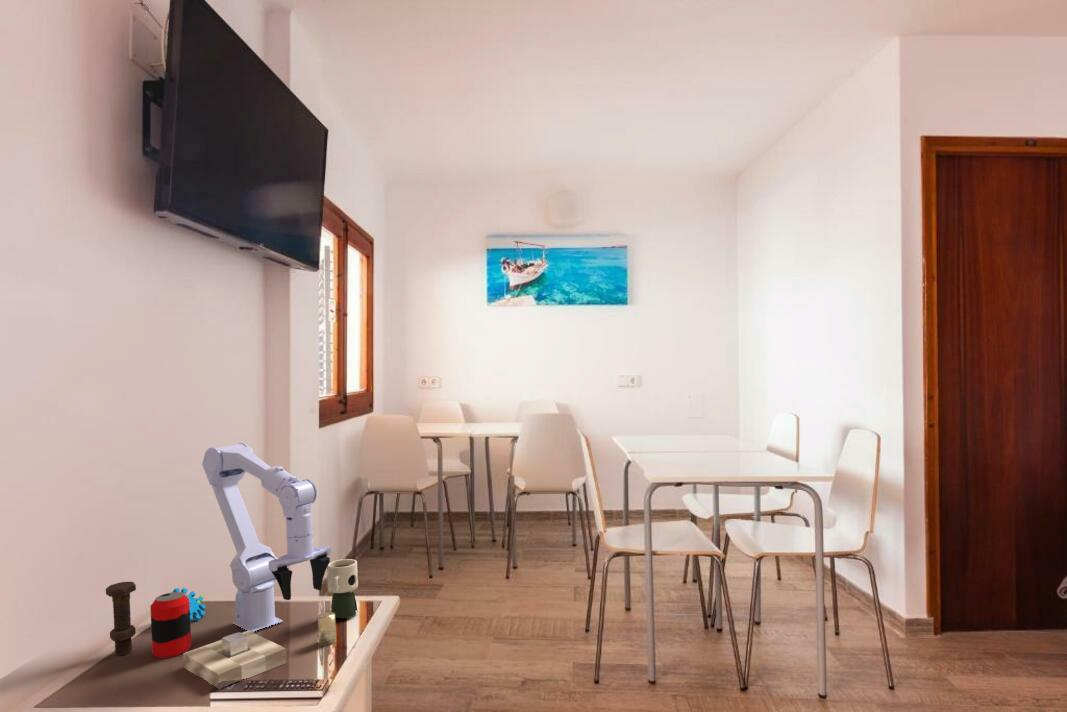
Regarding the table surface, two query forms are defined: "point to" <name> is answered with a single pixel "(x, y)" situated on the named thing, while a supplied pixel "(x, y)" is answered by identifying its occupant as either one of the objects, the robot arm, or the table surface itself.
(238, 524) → the robot arm
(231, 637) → the square bit
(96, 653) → the table surface
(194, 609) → the gear
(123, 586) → the bolt
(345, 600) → the character mug
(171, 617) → the soda can
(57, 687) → the table surface
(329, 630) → the round bit
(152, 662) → the table surface
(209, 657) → the socket plate
